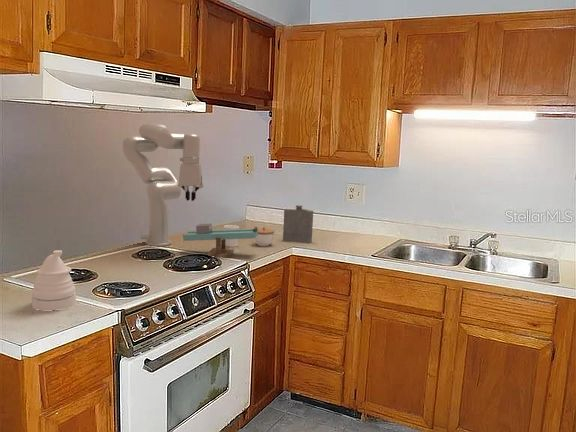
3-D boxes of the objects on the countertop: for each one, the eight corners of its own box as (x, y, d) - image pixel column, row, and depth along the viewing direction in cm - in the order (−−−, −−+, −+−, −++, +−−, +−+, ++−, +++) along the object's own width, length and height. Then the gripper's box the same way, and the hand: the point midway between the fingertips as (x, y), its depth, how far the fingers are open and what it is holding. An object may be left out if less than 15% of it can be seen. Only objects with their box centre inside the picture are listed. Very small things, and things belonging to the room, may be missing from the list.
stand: (207, 256, 238) (207, 237, 237) (213, 250, 251) (213, 232, 249) (228, 258, 237) (228, 238, 236) (233, 251, 250) (234, 233, 249)
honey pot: (84, 301, 170) (83, 248, 167) (55, 314, 158) (53, 257, 155) (53, 296, 174) (51, 244, 171) (22, 307, 162) (20, 252, 159)
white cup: (221, 244, 266) (222, 225, 264) (236, 243, 269) (236, 224, 267) (225, 247, 259) (225, 228, 257) (240, 246, 261) (240, 227, 260)
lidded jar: (271, 247, 262) (271, 229, 261) (250, 246, 264) (251, 228, 263) (275, 243, 273) (275, 226, 271) (255, 242, 274) (256, 224, 273)
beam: (183, 243, 240) (182, 232, 239) (189, 239, 249) (188, 228, 249) (255, 241, 236) (254, 229, 236) (258, 236, 246) (257, 226, 246)
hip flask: (282, 241, 280) (283, 204, 277) (283, 239, 284) (285, 203, 281) (311, 243, 278) (313, 206, 274) (312, 241, 282) (314, 205, 278)
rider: (196, 235, 240) (196, 226, 240) (200, 233, 246) (199, 223, 246) (209, 235, 240) (208, 225, 239) (212, 232, 246) (211, 223, 245)
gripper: (172, 160, 235) (171, 200, 238) (205, 162, 234) (205, 202, 237) (176, 159, 243) (176, 198, 245) (209, 161, 241) (208, 200, 244)
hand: (190, 200), depth 241 cm, fingers closed
